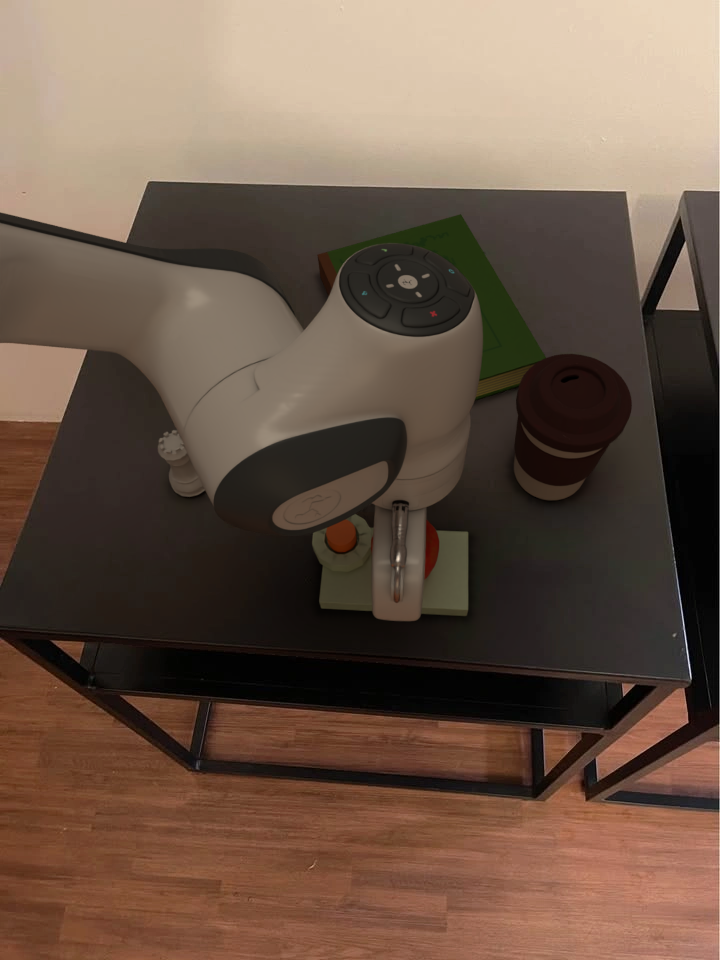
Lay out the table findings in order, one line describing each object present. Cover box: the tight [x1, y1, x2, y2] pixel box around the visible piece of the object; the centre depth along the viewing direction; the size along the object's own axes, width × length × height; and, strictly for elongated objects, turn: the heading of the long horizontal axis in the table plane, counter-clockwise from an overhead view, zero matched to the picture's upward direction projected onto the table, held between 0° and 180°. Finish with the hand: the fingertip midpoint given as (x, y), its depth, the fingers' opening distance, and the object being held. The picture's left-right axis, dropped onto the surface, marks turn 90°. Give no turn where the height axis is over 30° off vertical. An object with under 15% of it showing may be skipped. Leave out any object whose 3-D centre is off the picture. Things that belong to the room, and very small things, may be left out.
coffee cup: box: [513, 353, 633, 501], centre depth 69 cm, size 10×10×15 cm
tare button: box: [326, 519, 357, 553], centre depth 69 cm, size 3×3×2 cm
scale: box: [311, 513, 469, 617], centre depth 69 cm, size 15×9×4 cm, turn 86°
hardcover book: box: [317, 213, 547, 401], centre depth 84 cm, size 25×19×4 cm
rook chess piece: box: [157, 429, 206, 498], centre depth 74 cm, size 4×4×8 cm
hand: (400, 527), depth 62 cm, fingers open, 8 cm apart
